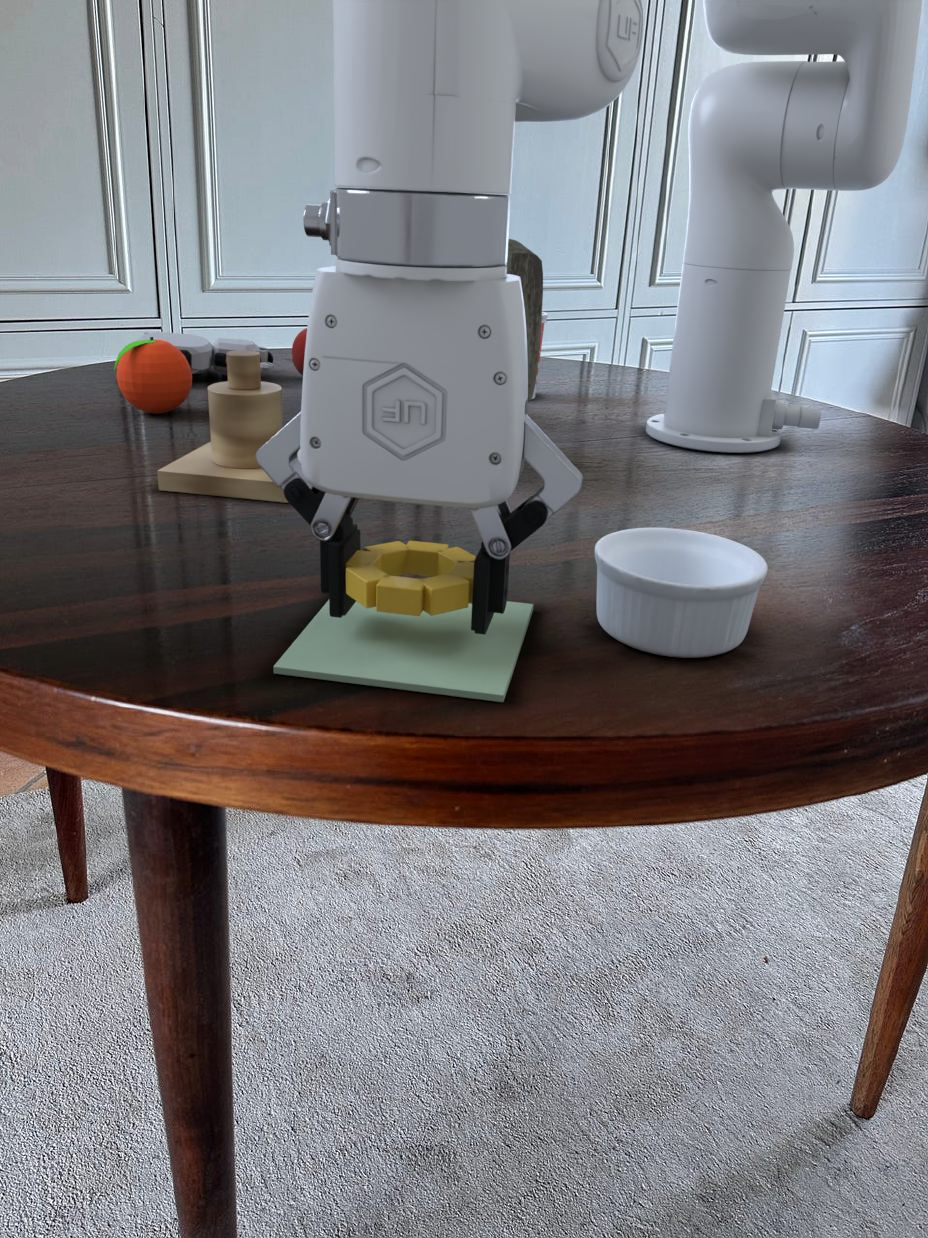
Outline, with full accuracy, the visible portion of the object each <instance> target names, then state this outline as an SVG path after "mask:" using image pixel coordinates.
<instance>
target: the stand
mask: <svg viewBox="0 0 928 1238" xmlns="http://www.w3.org/2000/svg"><path fill="white" fill-rule="evenodd" d="M226 356H227V374H228V375H227V380H226V381H220V382H215V383H212V384H210V385H208V386H207V388H206V389H207V402H208V403H207V404H208V405H207V406H208V417H209V418H208V419H209V433H210V441H208V442H206V443H204V444H202V445H201V446H199V447H198V448H196V449H194V450H191V452H189V453H187V454H185V455H183V456H181V457H179V458H178V459H176V460H174V461H172V462H170V463H169V464H167V465H164V466H163V467H161V468H158V470H157V471H156V472H157V473H156V474H157V485H158V490H159V491H163V492H172V493H174V492H175V493H183V494H194V495H205V496H213V497H223V498H232V499H233V498H234V499H243V500H244V499H245V500H255V501H263V502H275V503H287V504H290V503H289V502H288V501H287V500H286V498H285V496H284V491H283V490H282V489H281V488H280V487H278V486H277V485H276V484H275V483H274V482H273V481H272V480H271V478H270V477H269V476H268V475H267V474H266V473H265V471H264V470H263V469H262V468H261V467H260V466H259V464H258V463H257V461H256V457H255V456H256V452H257V451H258V450H259V449H260V448H261V447H262V446H263V445H264V444H265V443H266V442H268V441H269V440H270V439H271V438H272V437H273V436H274V435H275V434H276V433H278V432H279V431H280V430H281V429H282V428H283V427H284V414H283V410H284V409H283V388H282V386H281V385H280V384H277V383H275V382H274V383H273V382H269V381H262V372H261V368H260V353H259V352H256V351H248V350H237V351H230V352H227V354H226ZM297 457H298V460H299V462H300V463H301V456H300V450H299V451H298V454H297Z"/></svg>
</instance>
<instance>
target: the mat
mask: <svg viewBox="0 0 928 1238" xmlns="http://www.w3.org/2000/svg"><path fill="white" fill-rule="evenodd" d="M533 612H534V603H528V602H520V601H519V602H518V601H509V600H507V603H506V608H505V611H504V613H503V614H501V613H494V615H493V618H492V620H491V622H490V625H489V627H488V630H487V632H486V634H485V635H484V634H475V631H473V630H471V617H472V604H470V603H468V608H464V609H459V610H455V611H451V612H446V613H442V614H438V615H433V616H431V615H429V614H428V613H426V612H425V611H423V612H422V613H421V615H420V616H412V615H403V614H394V613H386V612H377V611H376V607H372V608H365V607H364V606H363V605H361V604H360V603H358V602H357V601H356V602H355V604H354V605H353V606H352V607H351V609H350V610H349V611H348V613H347V614H346V615H345V616H342V617H341V618H338V617H331V616H330V612H329V599H328V600H327V601H326V602H325V604H324V605H323V606H322V607H321V609H320V610H319V611H318V612H317V613H316V615H315V616H314V617H313V618H312V619H311V620H310V621H309V623H308V624H307V625H306V627H305V628H304V629H303V630H302V631H301V633H300V634H299V635H298V636H297V638H296V639H294V641H293V642H292V643H291V645H290V646H289V647H288V648H287V650H286V651H285V652H284V653H283V654H282V655H281V657H280V658H279V659H278V660H277V661H276V662H275V664H274V665H273V674H274V675H275V674H276V675H283V676H292V677H297V678H299V677H300V678H306V679H315V680H322V681H330V682H338V683H346V684H354V685H363V686H370V687H377V688H378V687H379V688H386V689H393V690H394V689H395V690H401V691H408V692H417V693H426V694H433V695H440V696H447V697H448V696H449V697H458V698H465V699H474V700H482V701H488V702H497V703H504V702H505V698H506V695H507V692H508V690H509V686H510V683H511V680H512V677H513V674H514V670H515V667H516V664H517V661H518V658H519V655H520V652H521V649H522V646H523V643H524V639H525V636H526V634H527V630H528V627H529V624H530V621H531V618H532V615H533Z"/></svg>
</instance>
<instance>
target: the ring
mask: <svg viewBox="0 0 928 1238" xmlns="http://www.w3.org/2000/svg"><path fill="white" fill-rule="evenodd" d="M476 556H477V555H474V554H472V553H470V552H469V551H467V550H465V549H463V548H461V547H460V546H454V547H450V546H449V544H447V543H438V542H427V541H417V540H409V541H408V542H407V543H406V544H405V543H404V542H402V541H400V540H396V541H389V542H384V543H379V544H374V545H367V546H364V547H363V550H362V549H360V550H357V551H356V553H355V554H354V555H353V556H352V557H351V558H350V559H349V561H348V562H347V563H346V594H347V595H349V596H350V597H351V598H353V599H354V600H356V601H357V602H358V603H360V604H361V605H363V606H364V607H365V608H372V607H376V611H377V612H386V613H394V614H403V615H412V616H420V615H421V613H422V612H423V611H425V612H426V613H428V614H429V615H431V616H433V615H438V614H442V613H446V612H451V611H455V610H459V609H464V608H468V603H470V604H472V596H473V575H474V561H475V558H476ZM405 575H414V576H415V575H416V576H425V577H423V578H415V577H406V576H405Z"/></svg>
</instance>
